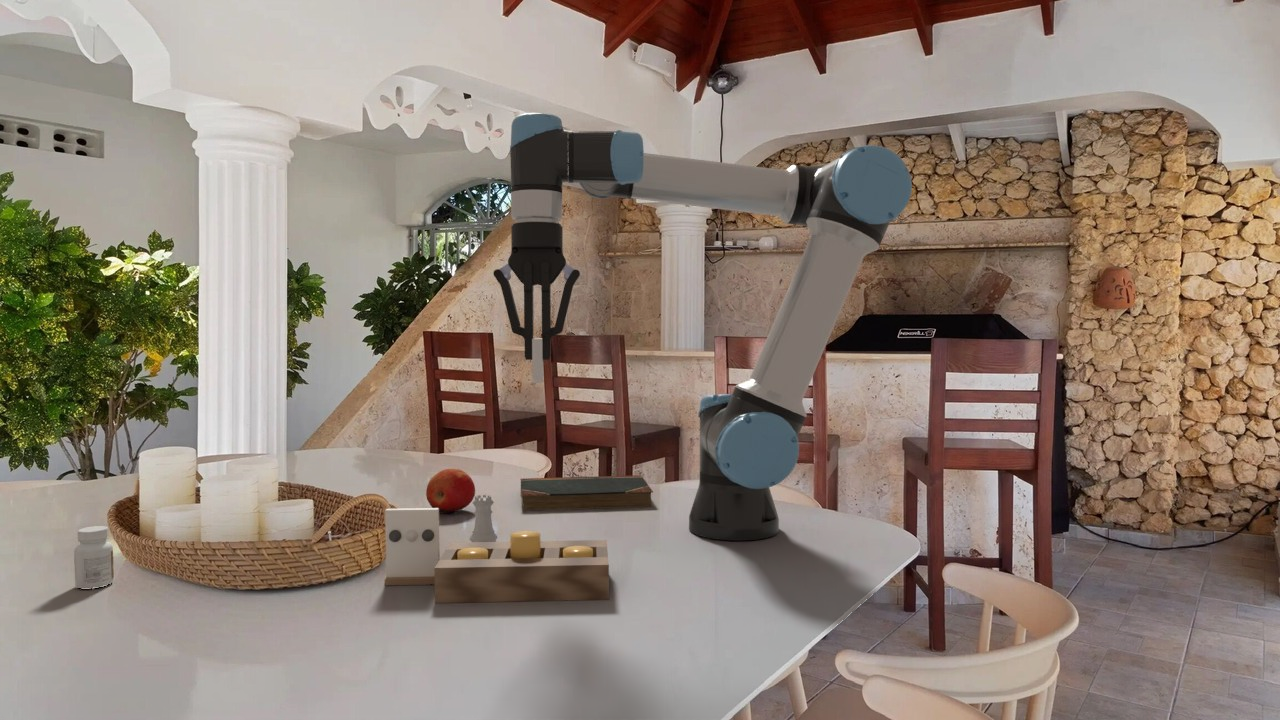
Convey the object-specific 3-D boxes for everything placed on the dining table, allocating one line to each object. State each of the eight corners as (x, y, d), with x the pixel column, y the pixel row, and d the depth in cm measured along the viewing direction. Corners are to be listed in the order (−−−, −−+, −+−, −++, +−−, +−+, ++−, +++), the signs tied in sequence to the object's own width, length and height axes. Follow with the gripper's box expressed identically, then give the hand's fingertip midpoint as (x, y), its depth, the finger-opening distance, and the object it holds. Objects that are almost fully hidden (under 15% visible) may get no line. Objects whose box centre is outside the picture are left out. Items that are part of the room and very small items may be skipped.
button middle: (541, 561, 117) (541, 530, 116) (539, 569, 113) (539, 538, 112) (511, 561, 116) (511, 531, 116) (509, 570, 112) (508, 538, 112)
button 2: (592, 575, 117) (592, 545, 117) (592, 585, 113) (592, 553, 113) (563, 576, 117) (563, 546, 117) (562, 585, 113) (562, 554, 113)
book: (520, 513, 159) (653, 509, 162) (520, 494, 159) (653, 490, 162) (520, 494, 176) (640, 490, 179) (520, 477, 176) (640, 473, 179)
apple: (481, 510, 159) (481, 468, 158) (449, 519, 152) (448, 475, 151) (450, 505, 163) (450, 464, 163) (417, 514, 156) (417, 470, 156)
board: (606, 571, 121) (606, 540, 121) (608, 599, 109) (608, 564, 109) (450, 574, 120) (449, 542, 120) (434, 603, 108) (434, 567, 108)
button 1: (489, 577, 116) (489, 547, 116) (486, 587, 112) (486, 555, 112) (460, 578, 116) (459, 547, 116) (455, 587, 112) (455, 556, 112)
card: (441, 577, 118) (440, 506, 118) (437, 584, 115) (436, 511, 115) (389, 578, 118) (388, 507, 117) (384, 585, 115) (383, 512, 114)
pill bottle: (121, 582, 116) (119, 526, 116) (91, 592, 112) (89, 534, 112) (98, 579, 118) (96, 523, 117) (67, 588, 114) (65, 531, 113)
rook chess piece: (491, 551, 132) (491, 500, 131) (464, 550, 132) (464, 498, 132) (502, 544, 136) (501, 494, 135) (475, 542, 137) (475, 493, 136)
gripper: (581, 225, 130) (581, 379, 131) (495, 225, 129) (496, 380, 131) (581, 220, 123) (581, 383, 124) (489, 219, 122) (491, 384, 123)
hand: (537, 381), depth 127 cm, fingers closed
